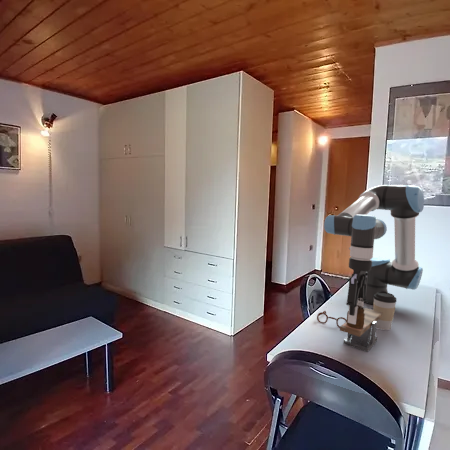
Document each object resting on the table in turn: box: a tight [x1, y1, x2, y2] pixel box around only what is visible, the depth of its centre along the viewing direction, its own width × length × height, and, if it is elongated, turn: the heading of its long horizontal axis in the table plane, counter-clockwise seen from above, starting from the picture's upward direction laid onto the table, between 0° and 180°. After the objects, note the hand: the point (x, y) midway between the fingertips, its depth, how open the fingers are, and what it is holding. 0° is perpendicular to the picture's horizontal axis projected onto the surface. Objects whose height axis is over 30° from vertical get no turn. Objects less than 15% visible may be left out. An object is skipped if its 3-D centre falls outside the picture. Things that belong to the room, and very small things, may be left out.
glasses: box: [316, 310, 347, 329], centre depth 147 cm, size 13×13×5 cm
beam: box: [339, 307, 383, 337], centre depth 126 cm, size 28×7×2 cm, turn 140°
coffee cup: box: [372, 291, 397, 331], centre depth 142 cm, size 9×9×15 cm
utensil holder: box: [346, 298, 365, 329], centre depth 119 cm, size 6×6×12 cm
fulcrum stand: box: [342, 321, 378, 353], centre depth 127 cm, size 12×9×10 cm
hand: (354, 320), depth 119 cm, fingers closed on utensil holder, 6 cm apart
